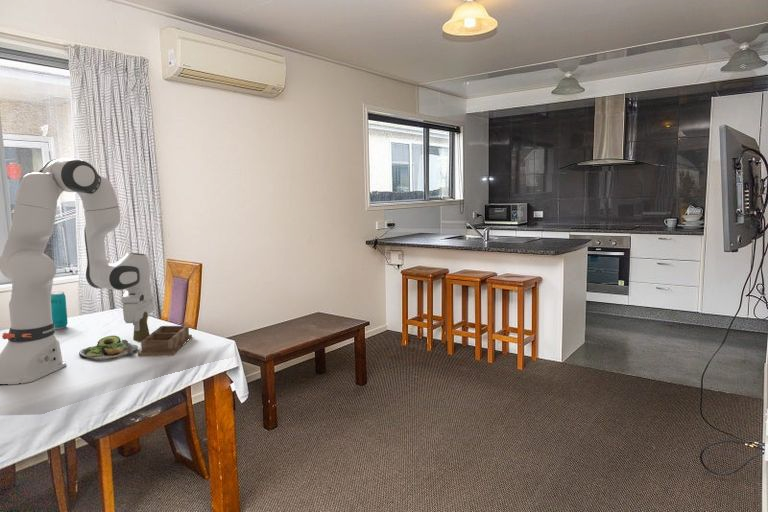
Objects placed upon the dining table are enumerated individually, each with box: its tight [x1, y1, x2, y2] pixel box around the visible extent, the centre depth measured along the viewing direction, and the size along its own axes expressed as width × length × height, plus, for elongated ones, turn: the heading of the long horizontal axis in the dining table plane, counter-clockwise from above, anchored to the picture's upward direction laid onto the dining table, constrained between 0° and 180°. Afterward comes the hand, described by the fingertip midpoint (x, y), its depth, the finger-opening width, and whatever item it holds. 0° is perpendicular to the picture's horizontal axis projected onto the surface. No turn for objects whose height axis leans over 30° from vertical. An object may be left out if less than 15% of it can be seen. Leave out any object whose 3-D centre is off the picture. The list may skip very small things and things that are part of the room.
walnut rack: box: [137, 325, 193, 357], centre depth 186 cm, size 22×12×5 cm, turn 4°
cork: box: [132, 312, 151, 342], centre depth 194 cm, size 6×6×11 cm
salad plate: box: [78, 335, 138, 361], centre depth 178 cm, size 19×18×5 cm
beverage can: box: [51, 291, 69, 330], centre depth 208 cm, size 6×6×15 cm
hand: (141, 328), depth 194 cm, fingers closed on cork, 5 cm apart
